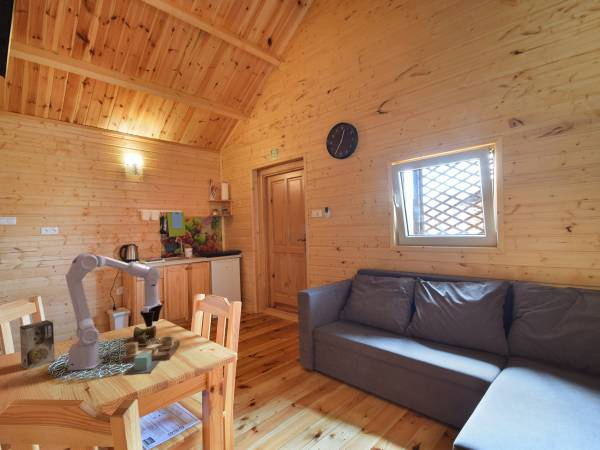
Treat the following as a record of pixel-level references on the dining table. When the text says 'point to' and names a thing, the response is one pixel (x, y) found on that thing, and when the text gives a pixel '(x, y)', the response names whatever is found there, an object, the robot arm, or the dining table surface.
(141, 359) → the cube
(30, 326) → the coffee box
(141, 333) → the kendama
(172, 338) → the strip
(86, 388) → the dining table surface
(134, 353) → the strip
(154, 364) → the felt pad
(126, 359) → the lane board
